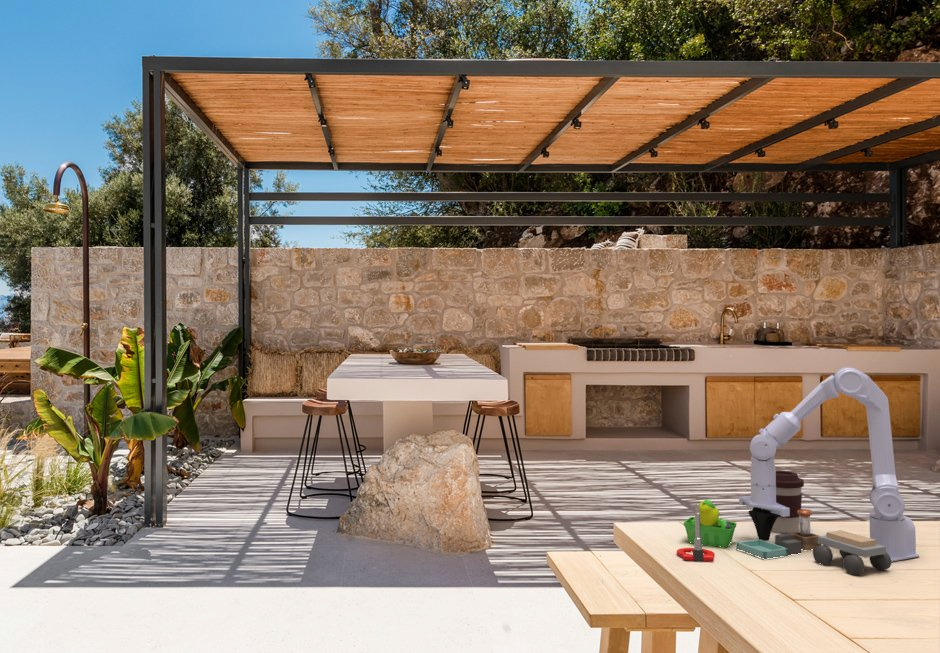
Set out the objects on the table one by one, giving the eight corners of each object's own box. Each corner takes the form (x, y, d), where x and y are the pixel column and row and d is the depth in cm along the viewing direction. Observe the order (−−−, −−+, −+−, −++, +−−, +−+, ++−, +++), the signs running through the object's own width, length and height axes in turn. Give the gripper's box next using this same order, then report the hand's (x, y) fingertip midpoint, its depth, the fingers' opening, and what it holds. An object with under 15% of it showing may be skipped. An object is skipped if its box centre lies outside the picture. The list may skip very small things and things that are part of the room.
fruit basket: (737, 542, 186) (737, 496, 186) (729, 551, 178) (728, 503, 178) (691, 536, 192) (690, 492, 192) (681, 544, 184) (680, 498, 184)
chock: (788, 550, 179) (787, 533, 179) (801, 554, 176) (801, 537, 176) (775, 551, 178) (775, 534, 178) (788, 556, 174) (788, 538, 174)
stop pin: (804, 544, 183) (804, 508, 183) (815, 548, 180) (815, 511, 180) (794, 546, 182) (794, 509, 182) (805, 549, 179) (805, 512, 179)
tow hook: (674, 551, 180) (679, 561, 171) (674, 497, 181) (678, 503, 171) (711, 553, 178) (718, 563, 169) (710, 498, 179) (717, 504, 170)
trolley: (812, 561, 169) (812, 531, 169) (844, 556, 173) (843, 527, 173) (859, 577, 158) (858, 545, 158) (891, 571, 162) (890, 540, 162)
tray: (759, 546, 182) (759, 539, 182) (788, 556, 174) (788, 548, 174) (736, 549, 179) (736, 542, 179) (764, 560, 171) (764, 552, 171)
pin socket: (804, 543, 184) (804, 531, 184) (821, 548, 180) (821, 536, 180) (789, 545, 182) (788, 533, 182) (805, 551, 178) (805, 538, 178)
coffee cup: (756, 526, 201) (755, 470, 201) (791, 525, 202) (790, 469, 203) (775, 536, 191) (774, 476, 192) (812, 534, 192) (811, 475, 193)
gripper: (729, 480, 189) (730, 534, 189) (773, 491, 176) (774, 549, 176) (751, 478, 192) (751, 531, 192) (796, 488, 179) (796, 546, 178)
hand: (764, 540), depth 184 cm, fingers closed
